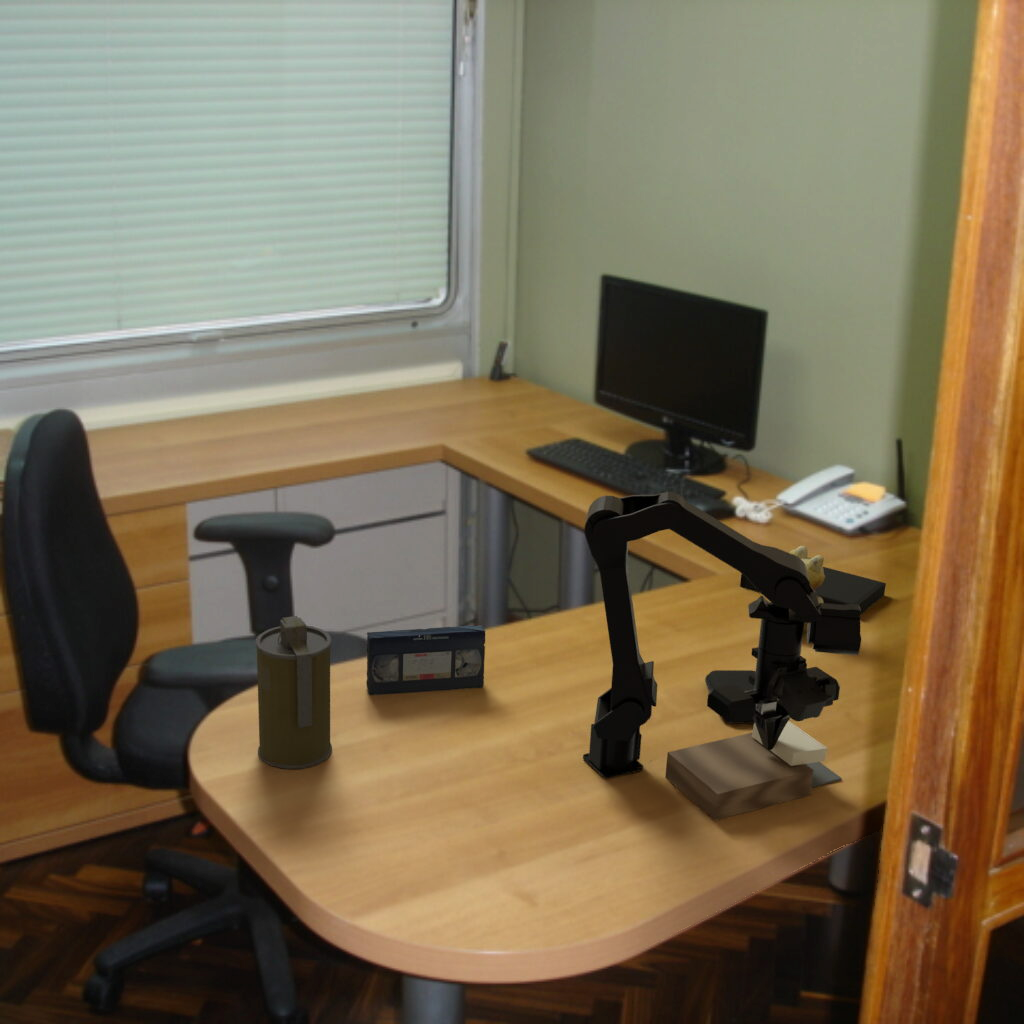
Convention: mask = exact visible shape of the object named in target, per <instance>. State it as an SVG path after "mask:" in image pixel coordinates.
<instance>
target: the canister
mask: <svg viewBox="0 0 1024 1024" xmlns="http://www.w3.org/2000/svg"><path fill="white" fill-rule="evenodd" d="M279 622H280V623H279V625H280V626H276V627H272V628H269V629H266V630H265V631H262V633H260V634H259V635H258V636H257V637H256V639H255V642H254V643H255V644H254V645H255V647H256V667H257V668H256V670H257V698H258V700H257V701H258V703H257V705H258V732H259V733H258V737H259V738H258V739H259V740H258V741H259V742H258V743H259V744H258V745H259V746H258V748H257V753H258V754H257V755H258V757H259V758H260V760H261V761H262V762H264V763H266V764H267V765H269V766H271V767H275V768H279V769H289V770H290V769H291V770H301V769H305V768H310V767H314V766H317V765H319V764H321V763H323V762H324V761H326V760H327V759H329V758H330V756H331V754H332V750H333V746H332V743H331V646H332V643H333V641H332V637H331V635H330V634H329V633H328V632H327V631H325V630H323V629H322V628H319V627H316V626H313V625H307V624H306V622H305V621H303V619H302V618H301V617H298V616H297V615H293V616H287V617H281V618H280V621H279Z"/></svg>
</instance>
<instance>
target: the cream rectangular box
mask: <svg viewBox="0 0 1024 1024" xmlns="http://www.w3.org/2000/svg"><path fill="white" fill-rule="evenodd" d="M752 727H753V729H752V731H751V733H752V737H753V738H754V739H756V740H757V741H758V742H760V743H761V744H762V741H761V738H760V735H759V733H758V730H757V727H756V724H755V723H753V726H752ZM762 745H763V744H762ZM770 751H772V752H773V753H774V754H776V755H777V756H778V757H780V758H781V759H783V760H784V761H785V762H787V763H788V764H789V765H791V766H794V765H801V764H808V763H815V762H820V763H822V762H826V757H827V752H828V747H827V746H825V745H824V744H823V743H821V742H819V741H818V740H817V739H815V738H814V737H812V736H811V735H809V734H808V733H806V732H805V731H804V730H803V729H801V728H799V727H798V726H797V725H796V724H794V723H792V722H791V721H790V720H789V721H788V722H787V724H786V725H785V727H784V729H783V731H782V733H781V735H780V736H779V738H778V740H777V742H776V744H775V746H774V748H773V749H772V750H770Z"/></svg>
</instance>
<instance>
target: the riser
mask: <svg viewBox="0 0 1024 1024" xmlns="http://www.w3.org/2000/svg"><path fill="white" fill-rule="evenodd" d="M812 777H813V769H812V768H810V767H809V766H808V765H806V764H801V765H794V766H791V765H789V764H788V763H787V762H785V761H784V760H783V759H781V758H780V757H778V756H777V755H776V754H774V753H773V752H772V751H770V750H767V749H765V748H764V746H763V745H762V744H761V743H760V742H758V741H757V740H756V739H754V738H753V737H752V732H749V733H744V734H739V735H736V736H731V737H727V738H723V739H718V740H715V741H709V742H706V743H701V744H698V745H697V744H696V745H692V746H688V747H685V748H684V747H683V748H679V749H675V750H672V751H668V752H667V756H666V767H665V778H666V780H668V781H669V782H670V783H671V784H672V785H674V787H676V789H678V790H679V791H680V792H682V794H684V795H685V796H686V797H687V798H688V799H689V800H690V801H692V802H693V803H694V804H695V805H697V807H699V808H700V809H701V810H703V812H704V813H705V814H707V815H708V816H709V817H710V818H711V819H712V820H714V821H717V820H721V819H726V818H729V817H733V816H737V815H740V814H744V813H747V812H752V811H756V810H759V809H762V808H766V807H767V808H768V807H771V806H774V805H778V804H782V803H786V802H789V801H793V800H796V799H800V798H804V797H808V796H809V797H810V796H811V792H812V788H811V784H812Z"/></svg>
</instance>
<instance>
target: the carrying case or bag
mask: <svg viewBox="0 0 1024 1024" xmlns="http://www.w3.org/2000/svg"><path fill="white" fill-rule="evenodd" d="M755 673H756V670H753V669H752V670H745V669H743V670H737V669H736V670H733V669H732V670H731V669H725V670H724V669H723V670H722V669H717V670H716V669H715V670H712V671H710V672H709V673H708V674H707V675H706V676H705V677H704V680H705V681H704V682H705V684H706V687H707V689H708V692H709V691H710V690H712V689H713V688H717V687H722V686H727V685H731V684H734V685H736V686H737V687H739V688H740V689H741V690H743V691H744V692H745V691H750V690H754V685H752V684H751V683H749V675H753V674H755ZM722 719H723V721H725V722H726V723H729V722H728V721H726V720H725V719H724V718H722ZM737 724H755V722H754V719H753V717H752V718H751V719H750V720H747V721H742V722H738V723H737Z"/></svg>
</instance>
